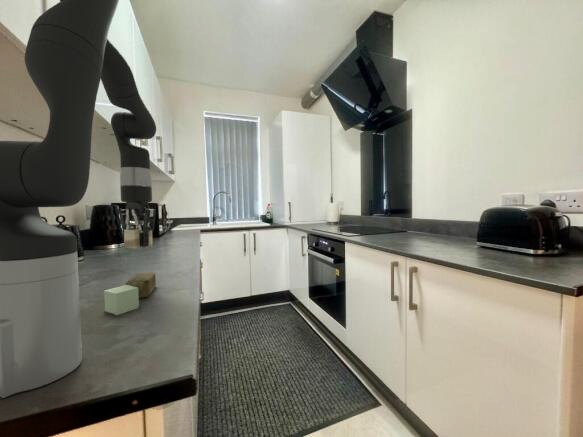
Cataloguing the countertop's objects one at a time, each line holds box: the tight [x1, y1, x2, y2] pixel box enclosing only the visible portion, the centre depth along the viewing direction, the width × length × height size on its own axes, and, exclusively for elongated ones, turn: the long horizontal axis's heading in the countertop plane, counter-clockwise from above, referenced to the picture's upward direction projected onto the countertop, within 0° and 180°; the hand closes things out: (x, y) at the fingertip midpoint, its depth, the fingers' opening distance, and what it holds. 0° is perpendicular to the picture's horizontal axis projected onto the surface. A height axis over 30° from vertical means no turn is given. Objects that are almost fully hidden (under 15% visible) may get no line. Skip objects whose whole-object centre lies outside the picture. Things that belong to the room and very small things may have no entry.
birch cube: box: [123, 228, 154, 250], centre depth 73 cm, size 5×5×5 cm
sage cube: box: [103, 284, 140, 316], centre depth 61 cm, size 5×5×5 cm
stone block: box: [124, 272, 157, 299], centre depth 74 cm, size 6×12×5 cm, turn 19°
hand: (138, 245), depth 73 cm, fingers closed on birch cube, 5 cm apart
